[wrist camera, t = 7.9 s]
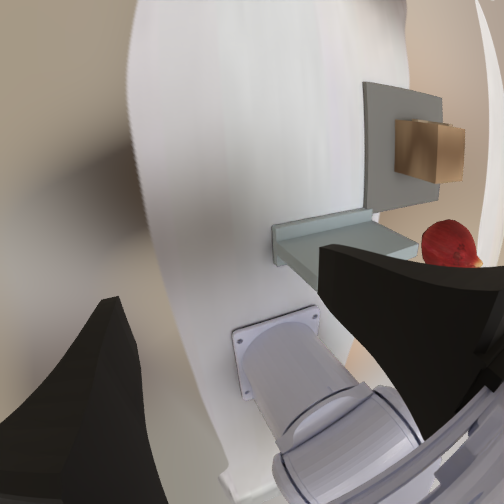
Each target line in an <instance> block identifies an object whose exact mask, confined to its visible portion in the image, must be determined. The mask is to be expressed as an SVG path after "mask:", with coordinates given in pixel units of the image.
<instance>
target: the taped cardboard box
mask: <svg viewBox="0 0 504 504" xmlns="http://www.w3.org/2000/svg"><path fill="white" fill-rule="evenodd" d="M464 149H465V129H461V128H456V127H453V125H452V124H445V123H439V122H432V121H425V120H418V119H412V121H406V120H396V119H395V164H394V172H397V173H401V174H404V175H408V176H411V177H415V178H418V179H421V180H424V181H428V182H431V183H434V184H439V183H448V182H456V181H462V176H463V165H464Z"/></svg>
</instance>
